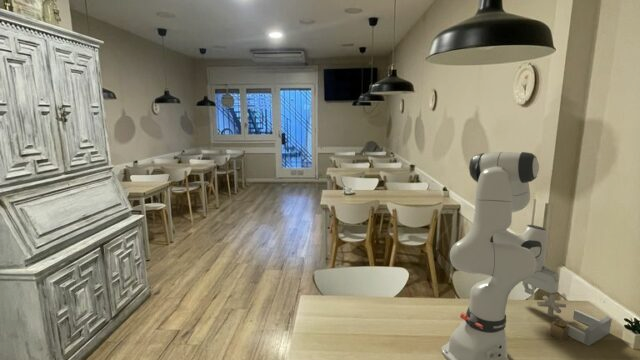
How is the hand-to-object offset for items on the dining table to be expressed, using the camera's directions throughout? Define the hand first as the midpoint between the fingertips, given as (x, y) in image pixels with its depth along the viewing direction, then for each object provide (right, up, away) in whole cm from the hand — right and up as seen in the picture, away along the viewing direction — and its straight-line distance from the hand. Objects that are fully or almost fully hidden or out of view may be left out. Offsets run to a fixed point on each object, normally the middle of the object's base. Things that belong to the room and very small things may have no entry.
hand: (529, 293), depth 146 cm
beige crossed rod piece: (+4, -7, -7) cm, 11 cm away
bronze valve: (-1, -10, -20) cm, 22 cm away
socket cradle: (+9, -9, -16) cm, 20 cm away
